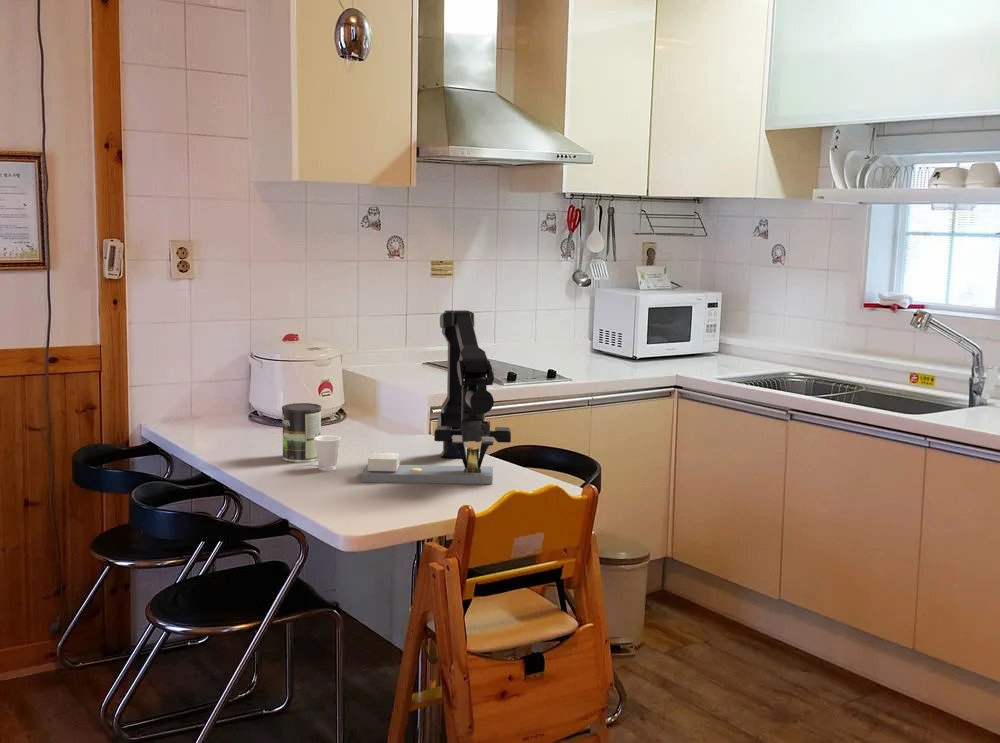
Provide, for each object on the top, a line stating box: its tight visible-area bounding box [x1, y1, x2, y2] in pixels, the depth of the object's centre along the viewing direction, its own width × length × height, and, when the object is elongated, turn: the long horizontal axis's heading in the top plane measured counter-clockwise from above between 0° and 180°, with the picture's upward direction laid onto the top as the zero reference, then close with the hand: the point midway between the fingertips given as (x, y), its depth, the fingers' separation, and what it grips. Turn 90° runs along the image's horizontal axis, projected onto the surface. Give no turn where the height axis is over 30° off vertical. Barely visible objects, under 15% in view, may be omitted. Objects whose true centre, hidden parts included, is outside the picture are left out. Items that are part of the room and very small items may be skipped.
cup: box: [314, 435, 341, 472], centre depth 264 cm, size 7×10×8 cm
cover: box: [367, 452, 400, 471], centre depth 255 cm, size 7×7×3 cm
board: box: [360, 463, 494, 485], centre depth 255 cm, size 10×32×2 cm, turn 90°
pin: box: [466, 446, 480, 473], centre depth 255 cm, size 3×3×6 cm
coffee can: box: [281, 402, 322, 464], centre depth 273 cm, size 10×10×14 cm
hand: (472, 468), depth 255 cm, fingers closed on pin, 3 cm apart
